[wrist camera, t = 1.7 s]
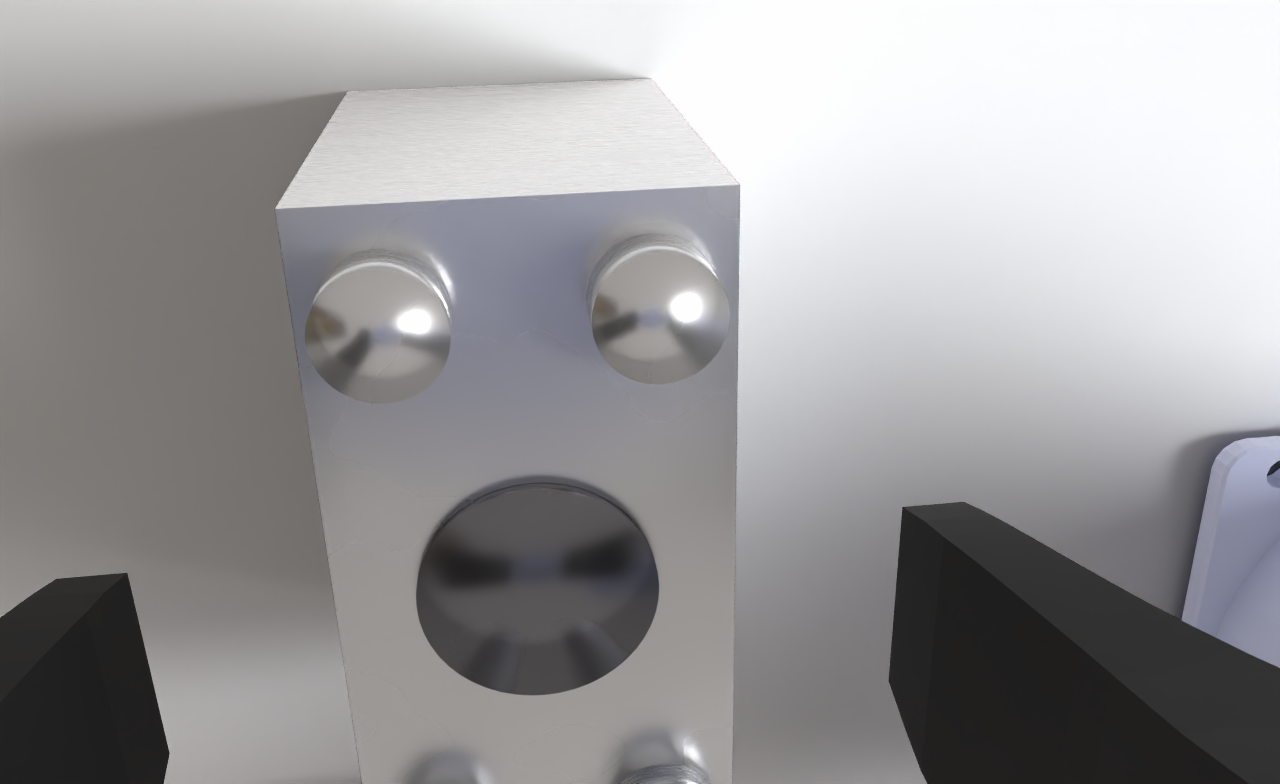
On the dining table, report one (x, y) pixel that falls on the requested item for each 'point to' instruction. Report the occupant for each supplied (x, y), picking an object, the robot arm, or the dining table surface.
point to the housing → (524, 429)
